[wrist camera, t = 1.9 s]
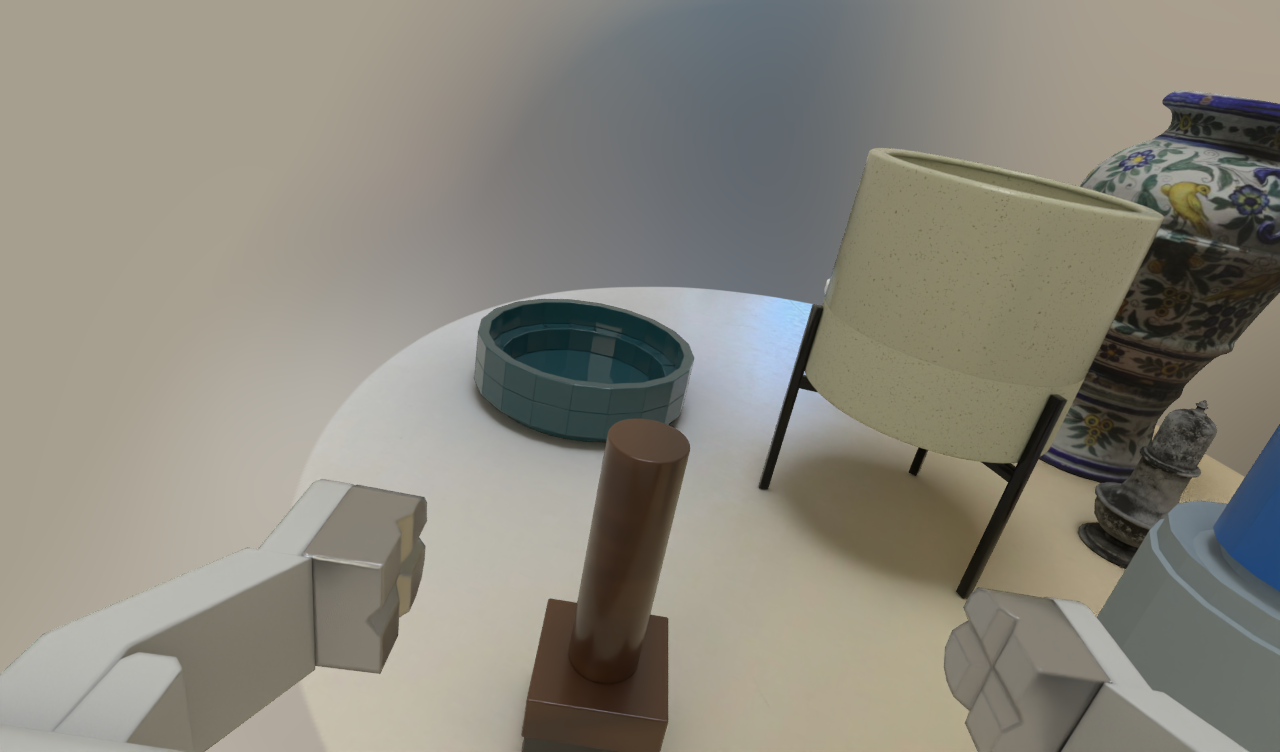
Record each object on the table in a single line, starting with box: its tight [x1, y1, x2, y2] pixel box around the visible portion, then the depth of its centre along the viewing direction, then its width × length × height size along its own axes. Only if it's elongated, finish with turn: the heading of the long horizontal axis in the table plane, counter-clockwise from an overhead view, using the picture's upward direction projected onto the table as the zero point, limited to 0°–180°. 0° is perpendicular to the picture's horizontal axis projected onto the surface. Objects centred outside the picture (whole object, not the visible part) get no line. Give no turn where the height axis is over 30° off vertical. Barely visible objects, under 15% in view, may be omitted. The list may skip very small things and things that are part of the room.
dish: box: [474, 299, 694, 442], centre depth 56 cm, size 17×17×5 cm
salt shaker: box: [1078, 400, 1217, 568], centre depth 48 cm, size 6×6×12 cm
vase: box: [1039, 91, 1280, 484], centre depth 58 cm, size 17×17×30 cm
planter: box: [759, 148, 1164, 598], centre depth 44 cm, size 15×16×23 cm
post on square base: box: [521, 419, 690, 752], centre depth 26 cm, size 5×5×14 cm
